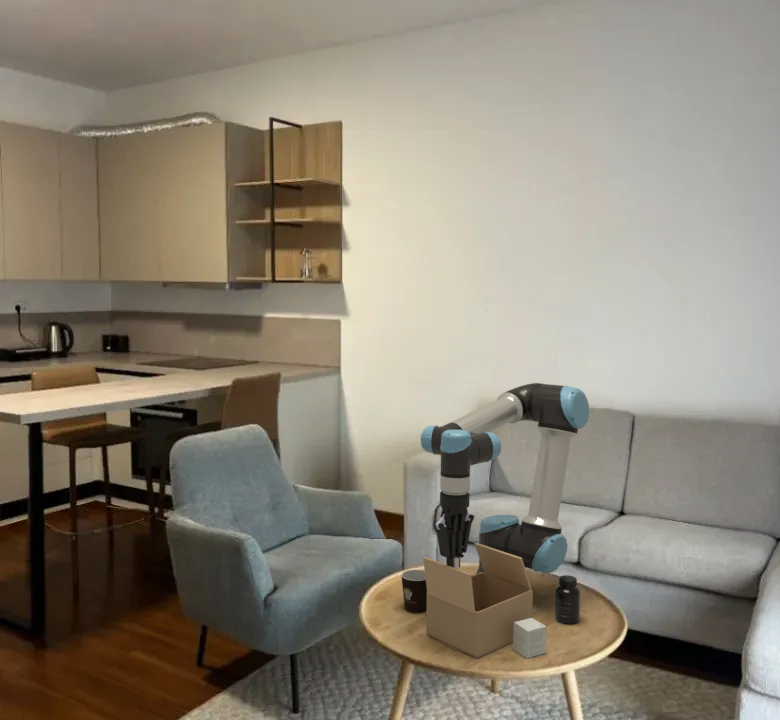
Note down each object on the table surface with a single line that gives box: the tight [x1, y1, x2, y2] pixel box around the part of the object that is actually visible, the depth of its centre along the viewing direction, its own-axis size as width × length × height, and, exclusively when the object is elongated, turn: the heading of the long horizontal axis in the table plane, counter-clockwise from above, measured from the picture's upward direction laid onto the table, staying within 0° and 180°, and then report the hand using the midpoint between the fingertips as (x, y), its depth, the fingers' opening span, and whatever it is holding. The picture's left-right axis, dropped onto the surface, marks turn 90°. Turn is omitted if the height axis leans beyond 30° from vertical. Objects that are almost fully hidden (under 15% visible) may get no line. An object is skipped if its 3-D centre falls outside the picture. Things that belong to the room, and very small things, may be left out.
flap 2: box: [474, 542, 532, 590], centre depth 219 cm, size 10×16×1 cm
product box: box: [512, 617, 547, 659], centre depth 205 cm, size 6×6×7 cm
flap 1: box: [422, 556, 475, 613], centre depth 204 cm, size 10×16×1 cm
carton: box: [425, 572, 534, 660], centre depth 214 cm, size 22×18×12 cm
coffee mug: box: [400, 569, 427, 614], centre depth 229 cm, size 12×9×10 cm
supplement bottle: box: [554, 574, 581, 625], centre depth 223 cm, size 7×7×12 cm
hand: (452, 581), depth 205 cm, fingers closed
